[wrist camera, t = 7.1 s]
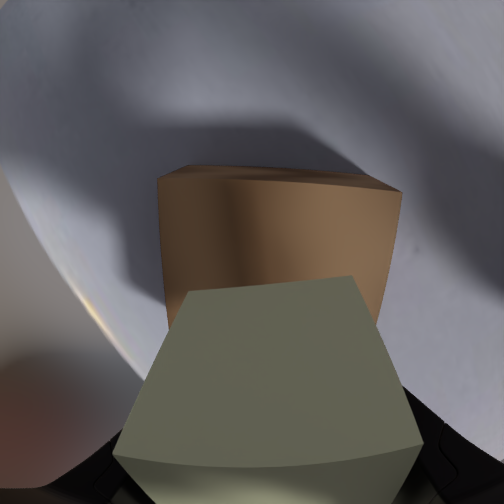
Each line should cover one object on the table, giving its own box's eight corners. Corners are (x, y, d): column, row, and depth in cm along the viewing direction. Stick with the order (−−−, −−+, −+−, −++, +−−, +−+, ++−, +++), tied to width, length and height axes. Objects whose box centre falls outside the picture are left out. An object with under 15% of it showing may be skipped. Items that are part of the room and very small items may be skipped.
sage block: (351, 275, 9) (423, 443, 4) (347, 390, 11) (373, 530, 5) (188, 291, 10) (111, 453, 4) (219, 400, 11) (192, 537, 6)
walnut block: (368, 175, 16) (402, 192, 12) (344, 327, 20) (359, 378, 15) (188, 165, 17) (157, 178, 12) (193, 319, 20) (174, 369, 16)
